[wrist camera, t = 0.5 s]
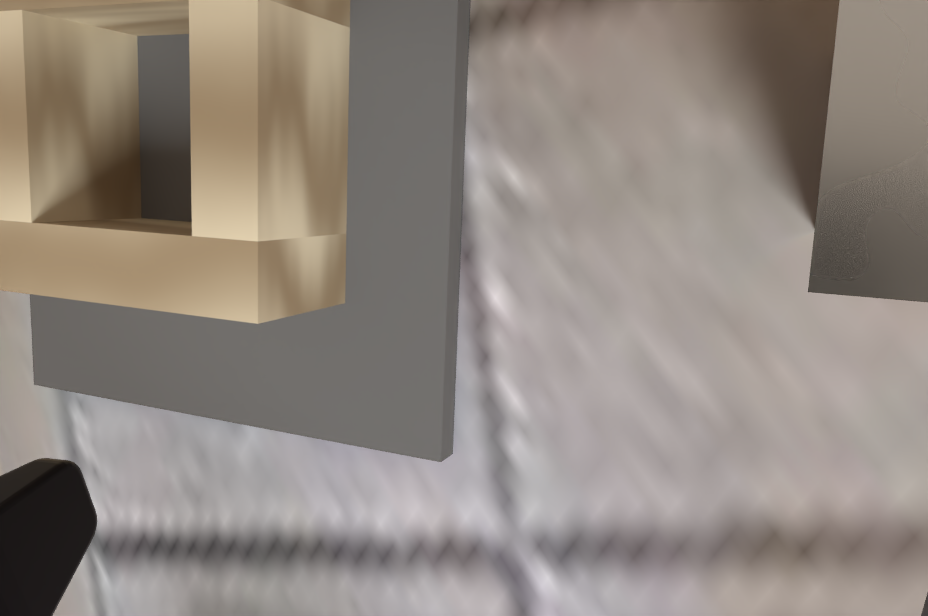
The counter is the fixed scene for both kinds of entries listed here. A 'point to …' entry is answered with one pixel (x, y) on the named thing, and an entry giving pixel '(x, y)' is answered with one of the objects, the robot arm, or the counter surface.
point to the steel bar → (875, 156)
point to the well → (212, 156)
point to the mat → (367, 261)
